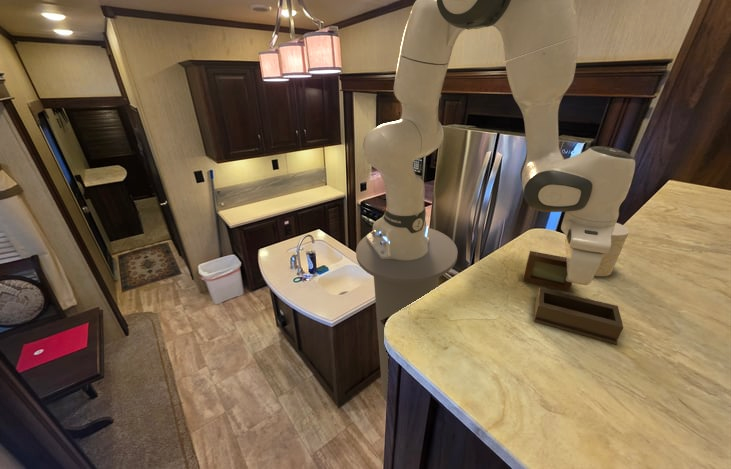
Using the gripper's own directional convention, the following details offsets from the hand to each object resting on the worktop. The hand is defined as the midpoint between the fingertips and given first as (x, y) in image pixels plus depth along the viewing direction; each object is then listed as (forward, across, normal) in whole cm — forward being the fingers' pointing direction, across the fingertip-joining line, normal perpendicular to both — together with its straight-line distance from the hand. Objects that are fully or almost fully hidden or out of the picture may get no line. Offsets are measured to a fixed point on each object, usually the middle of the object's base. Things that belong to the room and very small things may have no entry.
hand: (569, 276), depth 68 cm
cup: (+4, -12, +6) cm, 14 cm away
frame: (+4, 0, -4) cm, 6 cm away
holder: (+4, +11, +1) cm, 12 cm away
